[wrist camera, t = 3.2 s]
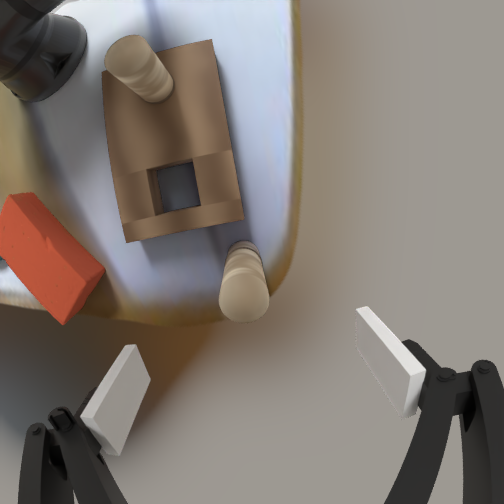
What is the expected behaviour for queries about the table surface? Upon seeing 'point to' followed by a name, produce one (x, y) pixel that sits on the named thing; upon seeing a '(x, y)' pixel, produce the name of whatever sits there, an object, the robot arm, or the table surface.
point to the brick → (46, 256)
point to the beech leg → (243, 284)
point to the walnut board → (167, 135)
